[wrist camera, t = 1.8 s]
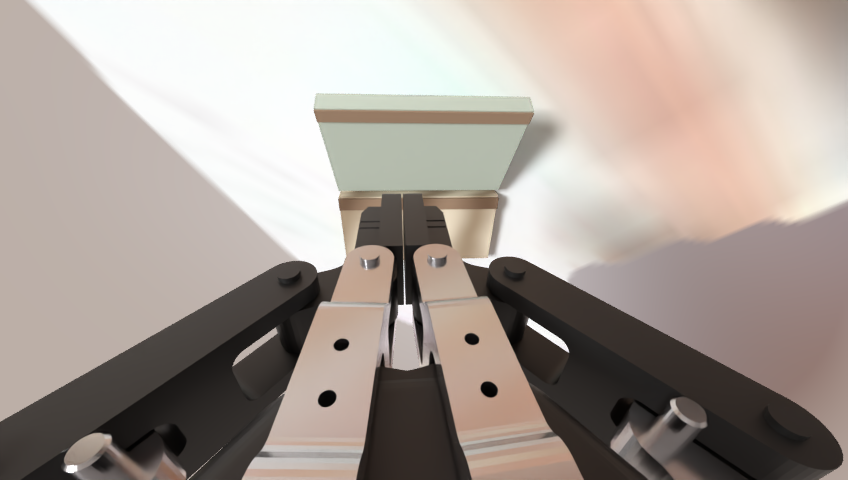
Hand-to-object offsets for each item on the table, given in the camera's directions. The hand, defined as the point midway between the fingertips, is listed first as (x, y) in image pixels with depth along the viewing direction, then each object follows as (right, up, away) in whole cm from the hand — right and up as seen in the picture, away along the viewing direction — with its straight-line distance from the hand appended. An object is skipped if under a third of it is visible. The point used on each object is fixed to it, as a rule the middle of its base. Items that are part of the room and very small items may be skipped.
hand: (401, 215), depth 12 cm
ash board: (0, +1, +23) cm, 23 cm away
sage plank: (+1, +8, +16) cm, 17 cm away
